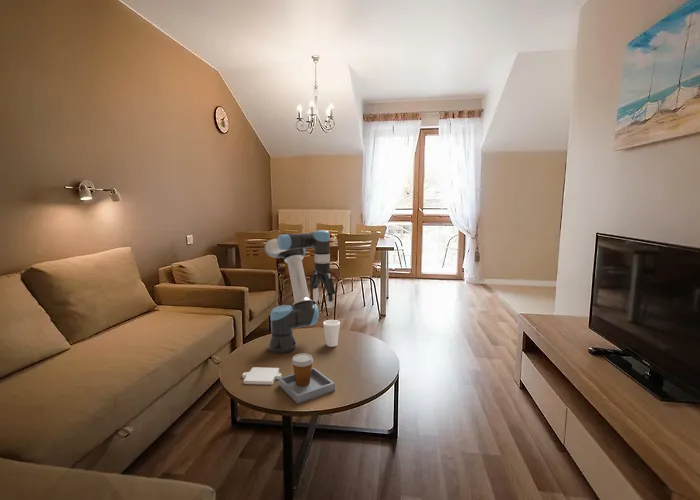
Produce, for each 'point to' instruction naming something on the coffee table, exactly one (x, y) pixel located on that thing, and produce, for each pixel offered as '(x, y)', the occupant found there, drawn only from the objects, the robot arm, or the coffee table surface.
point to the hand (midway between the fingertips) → (322, 304)
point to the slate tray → (314, 389)
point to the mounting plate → (261, 375)
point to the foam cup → (331, 332)
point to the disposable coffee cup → (302, 368)
